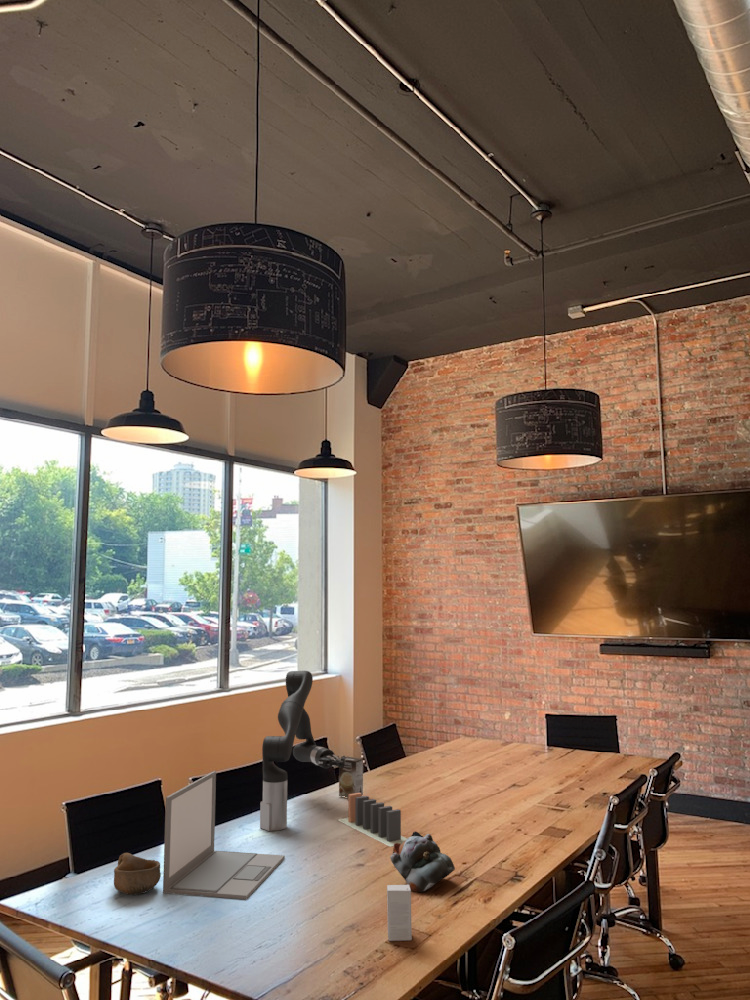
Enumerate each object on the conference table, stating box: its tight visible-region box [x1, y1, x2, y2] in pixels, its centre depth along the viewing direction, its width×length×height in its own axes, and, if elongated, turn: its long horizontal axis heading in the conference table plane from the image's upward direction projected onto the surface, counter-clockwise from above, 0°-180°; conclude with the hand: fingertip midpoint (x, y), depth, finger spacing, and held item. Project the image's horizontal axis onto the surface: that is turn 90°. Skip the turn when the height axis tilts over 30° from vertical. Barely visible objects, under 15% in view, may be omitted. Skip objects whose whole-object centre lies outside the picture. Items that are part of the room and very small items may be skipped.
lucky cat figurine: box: [390, 831, 456, 894], centre depth 229 cm, size 17×14×16 cm
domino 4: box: [370, 802, 385, 834], centre depth 277 cm, size 2×5×10 cm, turn 122°
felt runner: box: [337, 817, 408, 848], centre depth 278 cm, size 38×10×1 cm, turn 32°
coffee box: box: [338, 756, 364, 797], centre depth 328 cm, size 9×6×16 cm
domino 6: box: [387, 808, 402, 842], centre depth 268 cm, size 2×5×10 cm, turn 122°
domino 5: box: [378, 805, 393, 838], centre depth 272 cm, size 2×5×10 cm, turn 122°
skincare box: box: [386, 884, 413, 942], centre depth 192 cm, size 6×4×12 cm
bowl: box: [113, 852, 161, 896], centre depth 223 cm, size 18×14×10 cm
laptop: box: [162, 770, 286, 900], centre depth 237 cm, size 35×26×27 cm
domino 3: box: [363, 798, 377, 830], centre depth 281 cm, size 2×5×10 cm, turn 122°
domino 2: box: [355, 795, 370, 826], centre depth 286 cm, size 2×5×10 cm, turn 121°
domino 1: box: [347, 793, 362, 823], centre depth 291 cm, size 2×5×10 cm, turn 122°
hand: (342, 764), depth 301 cm, fingers closed
